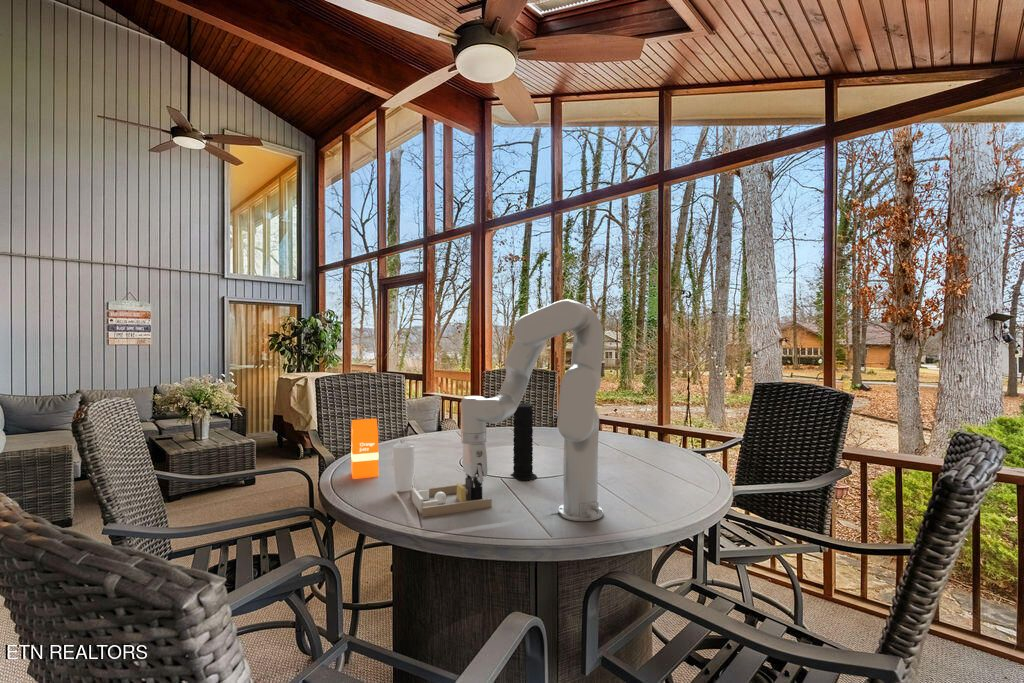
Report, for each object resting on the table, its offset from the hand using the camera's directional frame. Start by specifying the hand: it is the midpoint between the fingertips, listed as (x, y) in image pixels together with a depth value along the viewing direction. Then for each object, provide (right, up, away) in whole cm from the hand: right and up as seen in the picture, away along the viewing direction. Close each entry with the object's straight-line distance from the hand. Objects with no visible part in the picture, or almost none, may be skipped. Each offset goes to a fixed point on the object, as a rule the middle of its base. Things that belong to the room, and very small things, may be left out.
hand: (473, 497), depth 152 cm
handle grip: (+15, -1, +26) cm, 30 cm away
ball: (-8, +1, -3) cm, 9 cm away
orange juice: (-41, -1, +29) cm, 51 cm away
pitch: (-7, -2, -3) cm, 8 cm away
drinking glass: (-23, -1, +10) cm, 25 cm away
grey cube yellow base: (-1, -1, 0) cm, 1 cm away
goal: (-14, -2, -6) cm, 15 cm away
